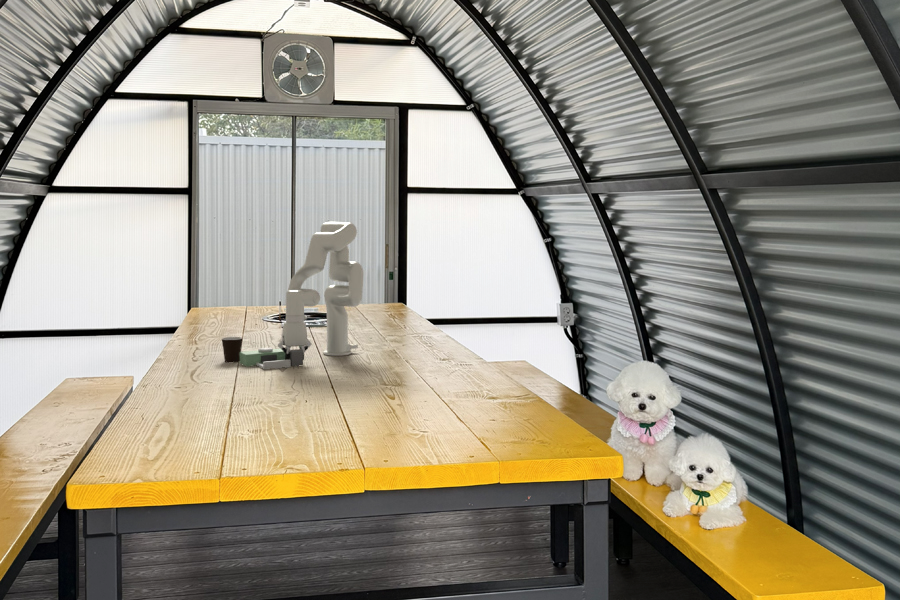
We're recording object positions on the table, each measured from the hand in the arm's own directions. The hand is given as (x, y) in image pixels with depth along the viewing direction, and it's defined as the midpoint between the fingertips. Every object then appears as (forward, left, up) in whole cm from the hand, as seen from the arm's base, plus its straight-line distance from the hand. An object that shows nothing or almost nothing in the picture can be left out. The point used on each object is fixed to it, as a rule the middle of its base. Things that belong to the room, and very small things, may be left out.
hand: (294, 361), depth 340 cm
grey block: (0, 0, -1) cm, 1 cm away
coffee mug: (+19, -23, -2) cm, 29 cm away
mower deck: (+9, -5, -1) cm, 11 cm away
